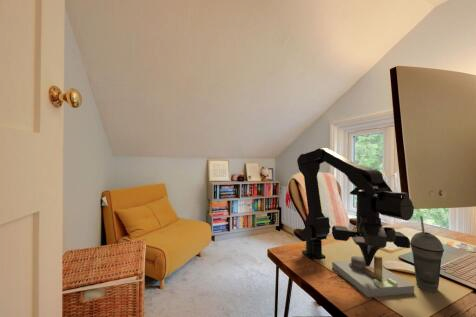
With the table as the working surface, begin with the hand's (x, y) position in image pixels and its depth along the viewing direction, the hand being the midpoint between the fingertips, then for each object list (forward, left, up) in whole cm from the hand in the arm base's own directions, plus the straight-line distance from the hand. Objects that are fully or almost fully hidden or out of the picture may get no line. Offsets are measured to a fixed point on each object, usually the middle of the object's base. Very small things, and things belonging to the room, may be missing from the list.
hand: (367, 265), depth 60 cm
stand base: (-3, +3, -6) cm, 7 cm away
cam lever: (-3, +2, -3) cm, 5 cm away
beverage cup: (+3, +16, -6) cm, 18 cm away
